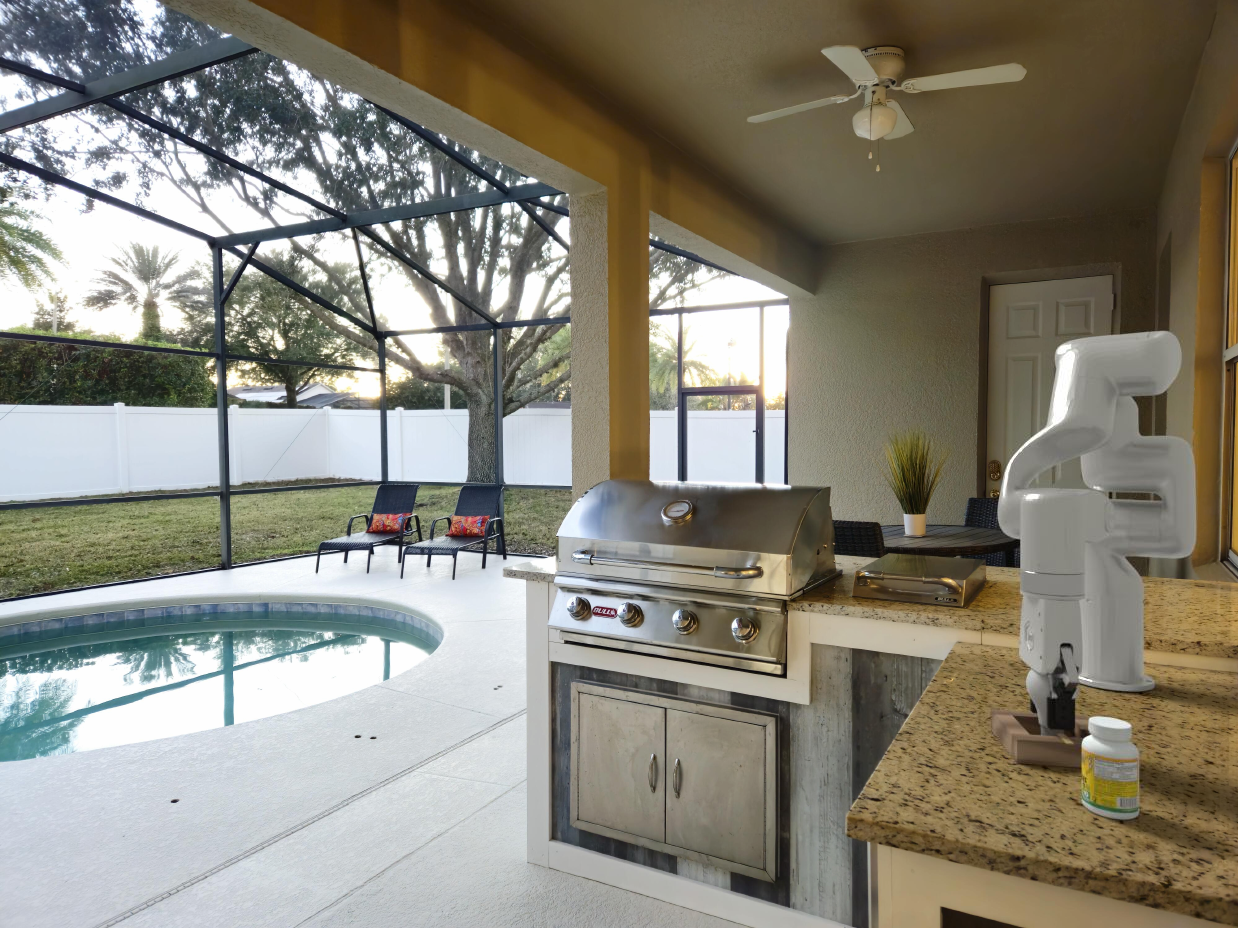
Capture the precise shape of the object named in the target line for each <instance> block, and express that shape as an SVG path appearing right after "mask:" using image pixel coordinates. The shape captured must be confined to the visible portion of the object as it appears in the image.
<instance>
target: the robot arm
mask: <svg viewBox="0 0 1238 928" xmlns="http://www.w3.org/2000/svg"><path fill="white" fill-rule="evenodd" d="M1182 352H1183V351H1182V348H1181V345H1180V342H1179V340H1178V337H1177V336H1176V335H1175V334H1174V333H1172V332H1171V331H1168V330H1157V331H1156V330H1155V331H1144V332H1133V333H1123V334H1111V335H1110V334H1109V335H1108V334H1107V335H1106V334H1105V335H1099V336H1098V335H1097V336H1089V337H1082V338H1077V339H1072V340H1068V341H1066V342H1064V343H1062V344H1061V345H1059V346H1058V347H1057V348H1056V350H1055V353H1054V365H1055V375H1054V380H1053V387H1052V392H1051V399H1050V404H1049V408H1048V409H1049V410H1048V415H1047V422H1046V425H1045V427H1044V428H1042V429H1041V430H1039V431H1038V432H1037V433H1035V434H1033V436H1031V437H1030V438H1029V439H1028V440H1027V441H1026V442H1025V443H1024V444H1022V445H1021V447H1020V448H1019V449H1017V451H1016V452H1015V453H1014V454H1013V456H1012V457H1011V458H1010V459H1009V461H1008V463H1007V465H1006V468H1005V469H1004V474H1003V476H1002V477H1003V478H1002V481H1001V487H1000V491H999V498H998V503H997V521H998V524H999V525H998V526H999V527H1000V529H1001V531H1002V532H1003V534H1005V535H1007V536H1008V537H1010V538H1012V539H1017V540H1020V541H1019V542H1020V546H1019V547H1020V551H1019V552H1020V557H1019V558H1020V570H1019V571H1020V572H1019V573H1020V574H1019V576H1020V577H1019V578H1020V579H1019V581H1020V582H1019V585H1020V587H1019V589H1020V590H1019V593H1020V594H1021V596H1023V597H1022V602H1021V603H1022V604H1021V612H1020V623H1019V624H1020V627H1019V645H1018V647H1019V648H1018V649H1019V651H1018V654H1019V658H1020V659H1021V661H1023V663H1025V665H1027V666H1029V667H1030V670H1031V669H1034V670H1035V671H1036V672H1038V673H1039V674H1041V675H1048V684H1049V693H1050V697H1047V727H1048V728H1049V729H1055V730H1074V729H1075V715H1076V700H1077V698H1076V689H1077V688H1076V687H1077V685H1078V686H1079V684H1081V685H1085V686H1088V687H1092V688H1098V689H1103V690H1109V691H1118V692H1120V691H1121V692H1132V693H1133V692H1135V693H1136V692H1137V693H1138V692H1146V691H1150V690H1153V689H1154V688H1155V686H1156V685H1155V682H1156V681H1155V680H1154V678H1153V677H1151V676H1150V675H1147V674H1144V657H1145V656H1144V647H1145V646H1144V641H1145V640H1144V639H1145V638H1144V637H1145V636H1144V629H1145V628H1144V627H1145V626H1144V622H1145V619H1144V616H1145V615H1144V612H1145V611H1144V608H1145V607H1144V606H1145V605H1144V602H1145V601H1144V595H1145V594H1144V593H1145V592H1144V590H1145V588H1144V582H1143V580H1142V577H1141V576H1140V574H1139V571H1137V570H1136V568H1135V567H1133V565H1132V564H1131V563H1130V562H1129V561H1128V560H1127V558H1126V557H1141V558H1142V557H1143V558H1144V557H1145V558H1156V559H1158V558H1159V559H1183V558H1186V557H1188V556H1190V555H1191V554H1192V553H1193V552H1194V550H1195V547H1196V541H1197V496H1196V495H1197V494H1196V491H1197V490H1196V489H1197V487H1196V464H1195V462H1196V461H1195V455H1194V452H1193V449H1192V447H1191V445H1190V443H1188V441H1187V440H1185V439H1184V438H1182V437H1179V436H1173V435H1146V436H1145V435H1141V433H1140V431H1139V407H1138V404H1137V402H1136V401H1135V400H1134V399H1133V397H1142V396H1144V397H1147V396H1157V395H1161V394H1163V393H1165V392H1166V391H1167V390H1168V388H1169V387H1170V386H1171V385H1172V383H1174V381H1175V380H1176V378H1177V377H1178V375H1179V372H1180V371H1181V366H1182V360H1183V358H1182V357H1183V355H1182ZM1078 457H1080V470H1081V471H1080V472H1081V477H1082V480H1083V483H1084V484H1085V486H1087V487H1088V489H1086V488H1084V489H1083V488H1062V487H1061V488H1060V487H1056V488H1055V487H1029V486H1030V483H1032V482H1033V480H1034V479H1035V478H1036V477H1037V476H1038V475H1040V474H1041V473H1043V472H1044V471H1047V470H1048V469H1050V468H1052V467H1054V466H1056V465H1059V464H1062V463H1065V462H1067V461H1071V460H1073V459H1075V458H1078ZM1103 492H1109V493H1110V492H1111V493H1143V494H1156V495H1158V496H1159V497H1160V499H1161V500H1140V499H1136V500H1135V499H1122V498H1121V499H1119V498H1117V499H1114V498H1112V499H1111V498H1109V497H1108V496H1107V495H1106V494H1104V493H1103ZM1055 669H1062V670H1063V673H1064V674H1058V673H1053V672H1054V670H1055ZM1055 679H1063V681H1060V682H1059V683H1058V685H1057V687H1056V680H1055ZM1029 710H1030V712H1032V713H1036V714H1038V713H1037V709H1036V707H1035V704H1034V702H1033V701H1032V699H1031V697H1030V696H1029Z"/></svg>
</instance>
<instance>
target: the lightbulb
mask: <svg viewBox="0 0 1238 928" xmlns="http://www.w3.org/2000/svg"><path fill="white" fill-rule="evenodd" d="M1053 673H1058V674H1064V673H1063V670H1062V669H1055V670H1054V672H1053ZM1055 680H1056V687H1057V685H1058V683H1059V682H1060V681H1063V679H1055ZM1025 686H1026V690H1027V693H1028V695H1029V698H1030V697H1031V699H1032V701H1033V702H1034V704H1035V707H1036V709H1037V713H1038V718H1039V724H1040V725H1041V735H1044V736H1058V735H1057V734H1064V730H1055V729H1049V728H1048V727H1047V697H1050V693H1049V684H1048V675H1041V674H1039V673H1038V672H1036V671H1035V670H1034V669H1031V668H1030V669H1029V672H1028V673H1027V675H1026V677H1025ZM1079 687H1080V686H1079V684H1078V685H1077V687H1076V688H1077V689H1076V699H1077V698H1078V696H1079V692H1080V688H1079Z"/></svg>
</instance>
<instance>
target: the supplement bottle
mask: <svg viewBox="0 0 1238 928" xmlns="http://www.w3.org/2000/svg"><path fill="white" fill-rule="evenodd" d="M1088 719H1089V725H1088V729H1089V732H1090V733H1091V734H1092V735H1089V736H1087V737H1085V738H1084V739H1083V741H1082V768H1081V803H1082V805H1083V806H1084V807H1085V808H1086V809H1087V810H1089V811H1090V812H1091V813H1094V814H1096V815H1099V816H1102V817H1104V818H1108V819H1109V818H1110V819H1113V820H1114V819H1115V820H1132V819H1135V818H1137V817H1138V816H1139V814H1140V751H1139V749H1138V747H1137V746H1136V745H1135V744H1134V743H1133V742H1131V741H1130V740H1131V739H1132V737H1133V728H1132V727H1133V726H1132V725H1131V723H1129V722H1128V721H1124V720H1122V719H1119V718H1113V717H1110V716H1109V717H1108V716H1091V717H1089V718H1088Z"/></svg>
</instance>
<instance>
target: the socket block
mask: <svg viewBox="0 0 1238 928" xmlns="http://www.w3.org/2000/svg"><path fill="white" fill-rule="evenodd" d="M1088 725H1089V718H1088V717H1087V716H1085V715H1084V714H1075V729H1074V730H1064V734H1057V735H1058V736H1044V735H1041V725H1040V724H1039V718H1038V714H1036V713H1032V712H1031V711H1020V710H1004V709H990V732H991V731H992V732H993V733H992V732H991V733H992V734H993V735H994V737H995V736H996V737H997V738H996V737H995V738H996V739H997V740H998V742H999V741H1000V742H1001V743H1002V744H1001V743H1000V742H999V743H1000V744H1001V745H1002V747H1003V746H1004V747H1005V748H1006V749H1007V750H1006V749H1005V748H1004V747H1003V748H1004V749H1005V750H1006V751H1007V753H1008V752H1009V753H1008V754H1009V755H1010V756H1011V758H1012V759H1013V760H1014V762H1016V764H1023V765H1024V764H1025V765H1027V764H1028V765H1038V766H1040V765H1041V766H1053V767H1054V766H1055V767H1069V768H1079V769H1080V768H1081V769H1082V741H1083V739H1084V738H1085V737H1087V736H1089V735H1092V734H1091V733H1090V732H1089V729H1088Z"/></svg>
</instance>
